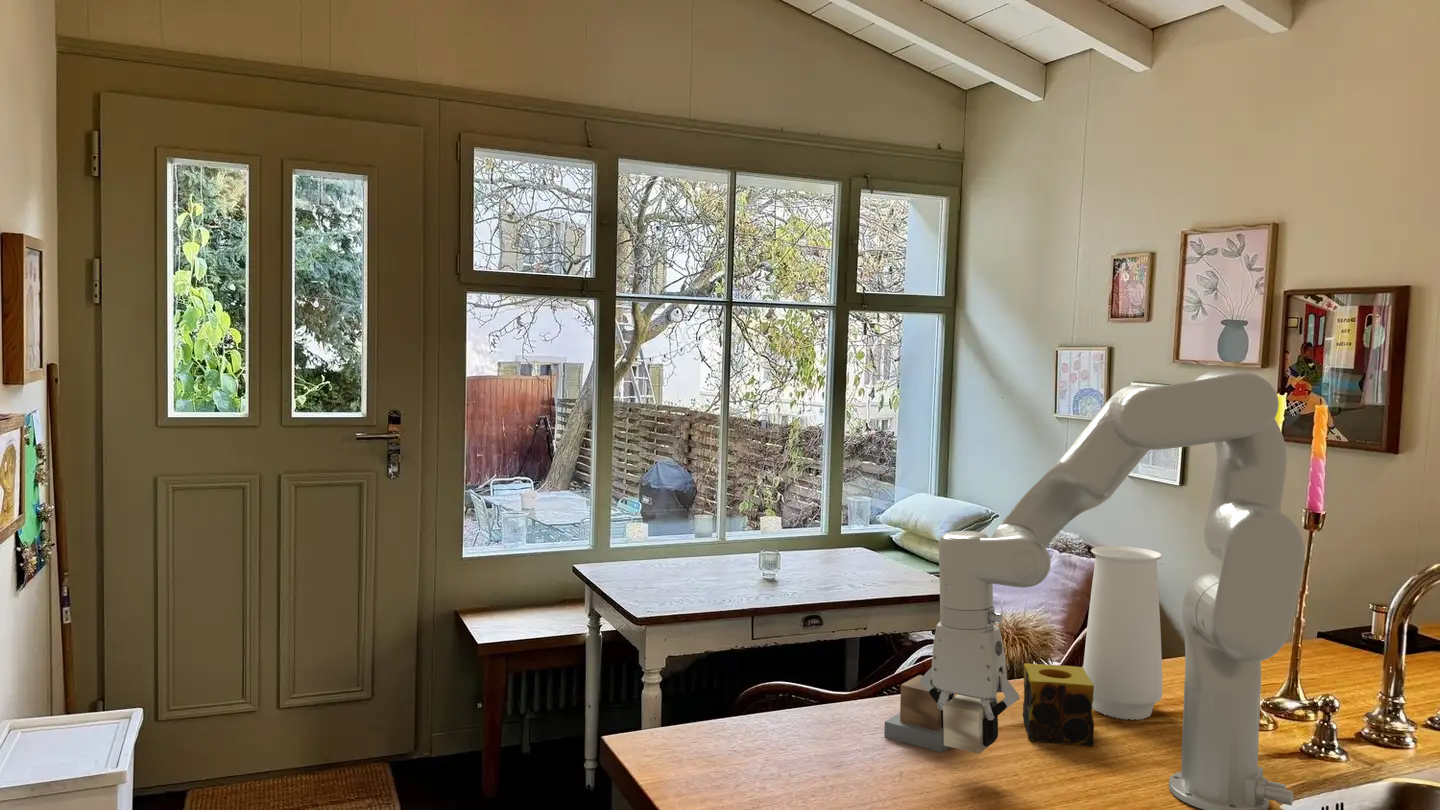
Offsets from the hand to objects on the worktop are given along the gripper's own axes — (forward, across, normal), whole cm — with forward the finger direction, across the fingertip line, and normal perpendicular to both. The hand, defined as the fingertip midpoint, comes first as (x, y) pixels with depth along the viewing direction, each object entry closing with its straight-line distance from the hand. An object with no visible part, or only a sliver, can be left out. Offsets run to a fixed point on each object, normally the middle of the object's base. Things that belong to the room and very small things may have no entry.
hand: (969, 737), depth 144 cm
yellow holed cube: (+7, -4, -25) cm, 26 cm away
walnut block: (+3, +12, -10) cm, 16 cm away
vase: (+7, -9, -43) cm, 45 cm away
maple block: (+1, 0, 0) cm, 1 cm away
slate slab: (+6, +12, -10) cm, 17 cm away
